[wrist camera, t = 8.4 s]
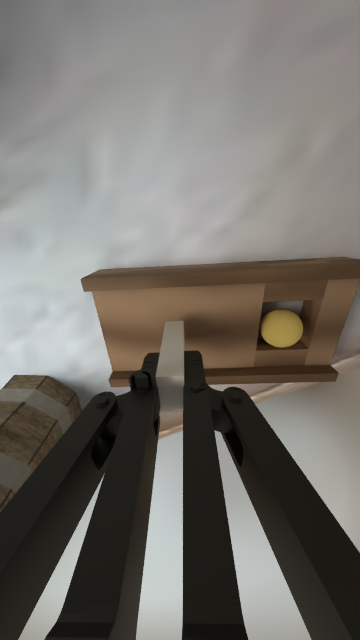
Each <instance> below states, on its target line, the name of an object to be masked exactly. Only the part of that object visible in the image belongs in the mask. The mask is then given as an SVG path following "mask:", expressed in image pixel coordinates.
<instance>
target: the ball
mask: <svg viewBox="0 0 360 640" xmlns="http://www.w3.org/2000/svg"><path fill="white" fill-rule="evenodd" d="M260 332H261V335H262V337H263V338H264V340H265V341H266V342H267V343H269V344H270V345H273V346H275V347H288V346H291V345H293V344H295V343H296V342H297V341H298V340H299V339H300V338H301V336H302V333H303V324H302V321H301V319H300V318H299V317H298V316H297V315H296V314H295V313H293V312H291V311H289V310H285V309H277V310H273V311H271V312H269V313H268V314H266V315H265V316H264V317H263V319H262V321H261V323H260Z"/></svg>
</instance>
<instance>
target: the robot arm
mask: <svg viewBox="0 0 360 640" xmlns="http://www.w3.org/2000/svg"><path fill="white" fill-rule="evenodd" d="M128 379H129V383H130V388H131V391H130V392H128V393H125V394H122V395H119V396H115V395H114V393H112V392H103V393H100V394H98V395H96V396H95V397H94V398H93V399H92V400H91V401H90V402H89V404H88V405H87V406H86V407H85V408H84V410H83V411H82V412H81V413H80V415H79V416H78V417H77V418H76V420H75V421H74V422H73V423H72V424H71V426H70V427H69V428H68V429H67V431H66V432H65V433H64V434H63V436H62V437H61V438H60V439H59V441H58V442H57V443H56V444H55V445H54V447H53V448H52V449H51V450H50V452H49V453H48V454H47V455H46V457H45V458H44V459H43V460H42V461H41V463H40V464H39V465H38V466H37V468H36V469H35V470H34V471H33V473H32V474H31V475H30V476H29V478H28V479H27V480H26V481H25V482H24V484H23V485H22V486H21V487H20V489H19V490H18V491H17V492H16V494H15V495H14V496H13V497H12V498H11V500H10V501H9V502H8V503H7V505H6V506H5V507H4V508H3V510H2V511H1V512H0V640H18V639H19V637H20V635H21V633H22V631H23V629H24V627H25V625H26V623H27V621H28V619H29V618H30V616H31V614H32V611H33V610H34V608H35V606H36V604H37V602H38V600H39V598H40V596H41V594H42V593H43V591H44V589H45V587H46V585H47V583H48V581H49V579H50V577H51V575H52V573H53V571H54V570H55V567H56V566H57V564H58V562H59V560H60V558H61V556H62V554H63V552H64V550H65V548H66V546H67V545H68V543H69V541H70V539H71V537H72V535H73V533H74V531H75V529H76V527H77V525H78V523H79V521H80V520H81V518H82V516H83V514H84V512H85V510H86V508H87V506H88V504H89V502H90V500H91V498H92V496H93V495H94V493H95V491H96V489H97V487H98V485H99V483H100V481H101V479H102V477H103V475H104V478H103V481H102V484H101V487H100V490H99V494H98V497H97V500H96V503H95V506H94V510H93V513H92V516H91V519H90V522H89V526H88V529H87V532H86V535H85V538H84V541H83V544H82V548H81V551H80V554H79V557H78V561H77V564H76V567H75V570H74V573H73V576H72V580H71V583H70V586H69V589H68V592H67V596H66V599H65V602H64V605H63V608H62V611H61V613H60V615H59V618H58V620H57V622H56V623H55V625H54V626H53V628H52V629H51V631H50V632H49V633H48V635H47V636H46V638H45V640H136V629H137V620H138V611H139V602H140V593H141V585H142V576H143V567H144V557H145V550H146V541H147V532H148V523H149V514H150V504H151V497H152V488H153V479H154V470H155V462H156V453H157V443H158V435H159V426H160V416H159V412H160V410H161V412H183V628H182V640H248V637H247V633H246V629H245V625H244V621H243V615H242V609H241V603H240V598H239V590H238V584H237V577H236V571H235V564H234V557H233V551H232V544H231V538H230V531H229V524H228V518H227V512H226V505H225V498H224V491H223V485H222V479H221V472H220V465H219V459H218V452H217V445H216V439H215V432H214V430H216V431H219V432H221V434H222V436H223V439H224V441H225V443H226V445H227V448H228V450H229V452H230V454H231V457H232V459H233V461H234V464H235V466H236V468H237V470H238V472H239V474H240V477H241V479H242V482H243V484H244V486H245V489H246V491H247V493H248V495H249V498H250V500H251V502H252V505H253V507H254V509H255V511H256V514H257V516H258V518H259V520H260V523H261V525H262V527H263V530H264V532H265V534H266V536H267V539H268V541H269V543H270V546H271V548H272V550H273V552H274V555H275V557H276V559H277V561H278V564H279V566H280V568H281V570H282V573H283V575H284V577H285V580H286V582H287V584H288V586H289V589H290V591H291V593H292V596H293V598H294V600H295V602H296V605H297V607H298V609H299V612H300V614H301V616H302V618H303V621H304V623H305V625H306V628H307V630H308V632H309V634H310V637H311V639H312V640H360V553H359V551H358V550H357V549H356V547H355V546H354V544H353V543H352V541H351V540H350V538H349V537H348V536H347V534H346V533H345V531H344V530H343V529H342V527H341V526H340V524H339V523H338V521H337V520H336V519H335V517H334V516H333V514H332V513H331V512H330V510H329V509H328V507H327V506H326V504H325V503H324V502H323V500H322V499H321V497H320V496H319V495H318V493H317V492H316V490H315V489H314V487H313V486H312V485H311V483H310V482H309V480H308V479H307V478H306V476H305V475H304V473H303V472H302V470H301V469H300V468H299V466H298V465H297V464H296V462H295V461H294V459H293V458H292V456H291V455H290V453H289V452H288V451H287V449H286V448H285V446H284V445H283V444H282V442H281V441H280V439H279V438H278V436H277V435H276V434H275V432H274V431H273V429H272V428H271V427H270V425H269V424H268V422H267V421H266V419H265V418H264V417H263V415H262V414H261V412H260V411H259V409H258V408H257V407H256V406H255V404H254V402H253V401H252V400H251V398H250V397H249V395H248V394H247V393H246V392H245V391H244V390H242V389H240V388H237V387H229V388H227V389H225V390H224V391H223V392H222V391H218V390H215V389H212V388H211V387H210V386H208V384H207V383H206V380H205V373H204V367H203V360H202V354H201V353H200V352H199V351H198V350H193V351H185V340H184V322H183V321H167V322H165V328H164V333H163V339H162V344H161V350H160V352H157V353H148V354H147V355H146V356H145V357H144V361H143V364H142V368H141V370H138V371H136V372H134V373H132V374H131V375H130V377H129V378H128ZM104 473H105V474H104Z"/></svg>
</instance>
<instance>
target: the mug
mask: <svg viewBox="0 0 360 640" xmlns="http://www.w3.org/2000/svg"><path fill="white" fill-rule="evenodd" d="M81 412H82V410H81V407H80V404H79V401H78V397H77V394H76V393H75V392H73V391H71V390H70V389H68V388H67V387H65V386H63V385H62V384H60V383H58V382H57V381H55V380H54V379H52V378H50V377H49V376H37V375H14V376H13V377H12V378H11V379H10V380H9V382H8V383H7V384H6V385H5V386H4V387H3V388H2V389H1V390H0V512H1V511H2V510H3V508H4V507H5V506H6V505H7V503H8V502H9V501H10V500H11V498H12V497H13V496H14V495H15V494H16V492H17V491H18V490H19V489H20V487H21V486H22V485H23V484H24V482H25V481H26V480H27V479H28V478H29V476H30V475H31V474H32V473H33V471H34V470H35V469H36V468H37V466H38V465H39V464H40V463H41V461H42V460H43V459H44V458H45V457H46V455H47V454H48V453H49V452H50V450H51V449H52V448H53V447H54V445H55V444H56V443H57V442H58V441H59V439H60V438H61V437H62V436H63V434H64V433H65V432H66V431H67V429H68V428H69V427H70V426H71V424H72V423H73V422H74V421H75V420H76V418H77V417H78V416H79V415H80V413H81Z"/></svg>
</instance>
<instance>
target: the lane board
mask: <svg viewBox="0 0 360 640" xmlns="http://www.w3.org/2000/svg"><path fill="white" fill-rule="evenodd" d="M359 282H360V260H357V259H351V258H345V257H336V258H317V259H298V260H279V261H259V262H240V263H221V264H202V265H183V266H164V267H144V268H125V269H106V270H98V271H96V272H94V273H92V274H90V275H88V276H86V277H84V278H81V283H82V286H83V290H84V292H87V291H92V294H93V298H94V302H95V305H96V309H97V313H98V317H99V321H100V324H101V328H102V332H103V336H104V340H105V344H106V347H107V351H108V355H109V359H110V363H111V366H112V370H113V372H112V374H111V376H110V378H109V382H110V386H111V387H130V383H129V379H128V378H129V377H130V375H131V374H132V373H134V372H136V371H138V370H141V368H142V364H143V361H144V357H145V356H146V355H147V354H148V353H157V352H160V350H161V344H162V339H163V333H164V328H165V322H167V321H183V322H184V340H185V351H193V350H198V351H199V352H200V353H201V354H202V360H203V367H204V373H205V380H206V383H207V384H208V385H214V384H252V383H291V382H329V381H336V379H337V376H338V374H339V373H338V372H337V371H336V370H335V369H334V368H333V367H332V366H330V363H331V360H332V358H333V355H334V352H335V349H336V346H337V344H338V341H339V338H340V335H341V332H342V330H343V327H344V324H345V321H346V318H347V315H348V313H349V310H350V307H351V304H352V301H353V299H354V296H355V293H356V290H357V287H358V284H359ZM302 300H304V304H303V308H302V312H301V316H300V319H301V321H302V324H303V333H302V336H301V338H300V339H299V340H298V341H297V342H296V343H295V344H293V345H291V346H288V347H275V346H273V345H270V344H269V343H267V342H266V341H265V340H264V338H258V332H259V325H260V318H261V311H262V304H263V302H279V301H302Z"/></svg>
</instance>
